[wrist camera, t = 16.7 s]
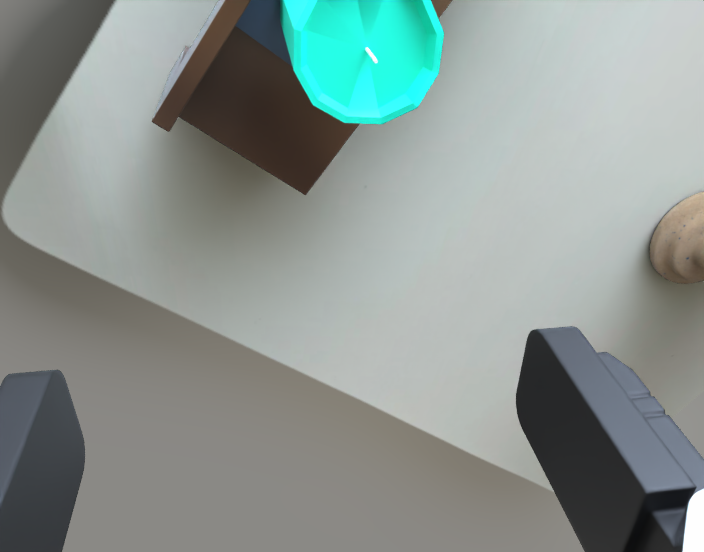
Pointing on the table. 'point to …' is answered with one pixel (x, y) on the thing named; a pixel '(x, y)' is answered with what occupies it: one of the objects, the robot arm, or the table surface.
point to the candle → (363, 54)
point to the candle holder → (680, 242)
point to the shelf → (253, 94)
